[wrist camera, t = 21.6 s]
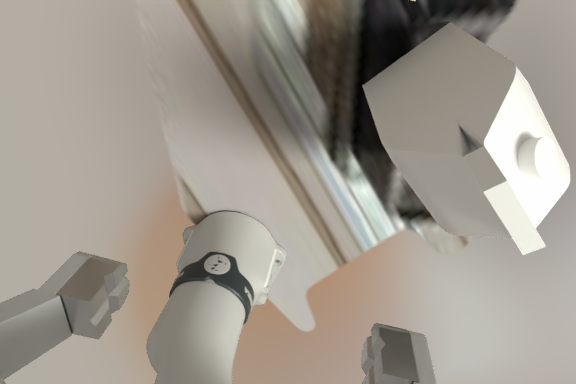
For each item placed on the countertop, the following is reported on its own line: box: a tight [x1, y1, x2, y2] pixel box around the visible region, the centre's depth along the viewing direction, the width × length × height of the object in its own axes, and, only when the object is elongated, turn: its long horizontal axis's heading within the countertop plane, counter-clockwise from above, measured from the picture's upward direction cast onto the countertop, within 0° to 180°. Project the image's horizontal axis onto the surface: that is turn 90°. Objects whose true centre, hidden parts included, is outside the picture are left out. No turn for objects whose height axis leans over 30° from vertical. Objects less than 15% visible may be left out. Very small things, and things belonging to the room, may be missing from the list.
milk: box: [362, 22, 570, 255], centre depth 31 cm, size 12×12×26 cm
